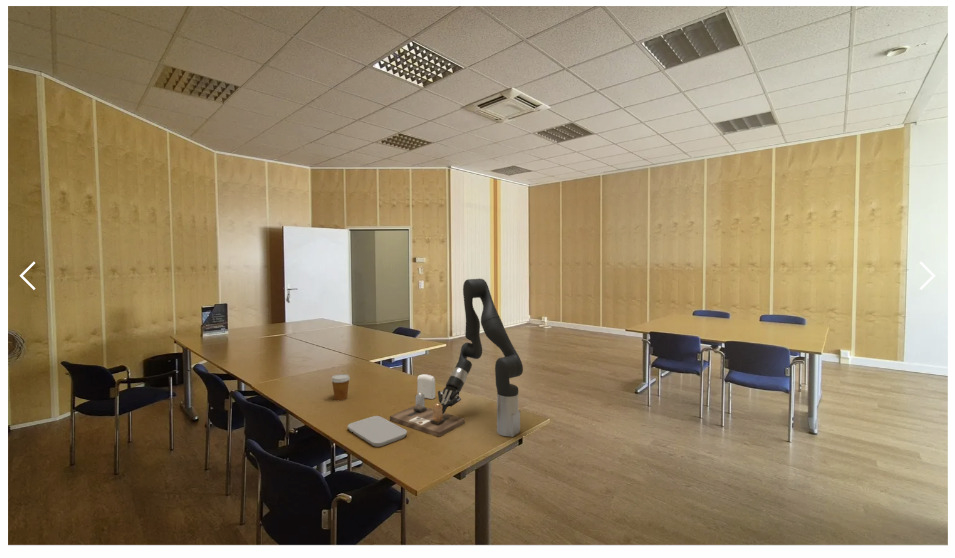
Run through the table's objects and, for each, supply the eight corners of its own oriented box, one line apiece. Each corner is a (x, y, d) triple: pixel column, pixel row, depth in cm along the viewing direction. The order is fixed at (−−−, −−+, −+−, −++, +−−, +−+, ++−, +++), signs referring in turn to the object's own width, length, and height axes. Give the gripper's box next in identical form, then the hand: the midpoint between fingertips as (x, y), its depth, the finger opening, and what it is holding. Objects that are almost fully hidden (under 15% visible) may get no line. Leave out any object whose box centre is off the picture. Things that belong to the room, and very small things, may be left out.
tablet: (377, 419, 191) (377, 414, 191) (409, 437, 172) (409, 432, 172) (345, 430, 179) (344, 425, 179) (376, 450, 161) (376, 444, 161)
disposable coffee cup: (353, 395, 222) (352, 374, 221) (345, 402, 212) (345, 379, 211) (336, 395, 222) (335, 373, 222) (328, 401, 213) (327, 378, 212)
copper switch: (444, 421, 182) (444, 403, 181) (438, 424, 178) (438, 406, 178) (437, 419, 184) (437, 401, 184) (430, 422, 181) (430, 404, 180)
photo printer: (416, 396, 220) (416, 374, 219) (420, 394, 224) (420, 372, 223) (432, 400, 215) (432, 377, 215) (436, 397, 219) (436, 375, 219)
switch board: (464, 422, 186) (464, 417, 186) (439, 437, 172) (439, 431, 171) (416, 408, 203) (416, 404, 203) (389, 420, 189) (389, 415, 189)
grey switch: (426, 409, 196) (426, 392, 195) (420, 412, 192) (420, 395, 192) (419, 407, 198) (419, 390, 198) (413, 410, 195) (413, 393, 194)
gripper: (442, 373, 194) (425, 405, 184) (465, 377, 186) (448, 412, 177) (449, 381, 198) (433, 413, 189) (471, 386, 191) (455, 420, 181)
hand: (440, 413), depth 183 cm, fingers closed
